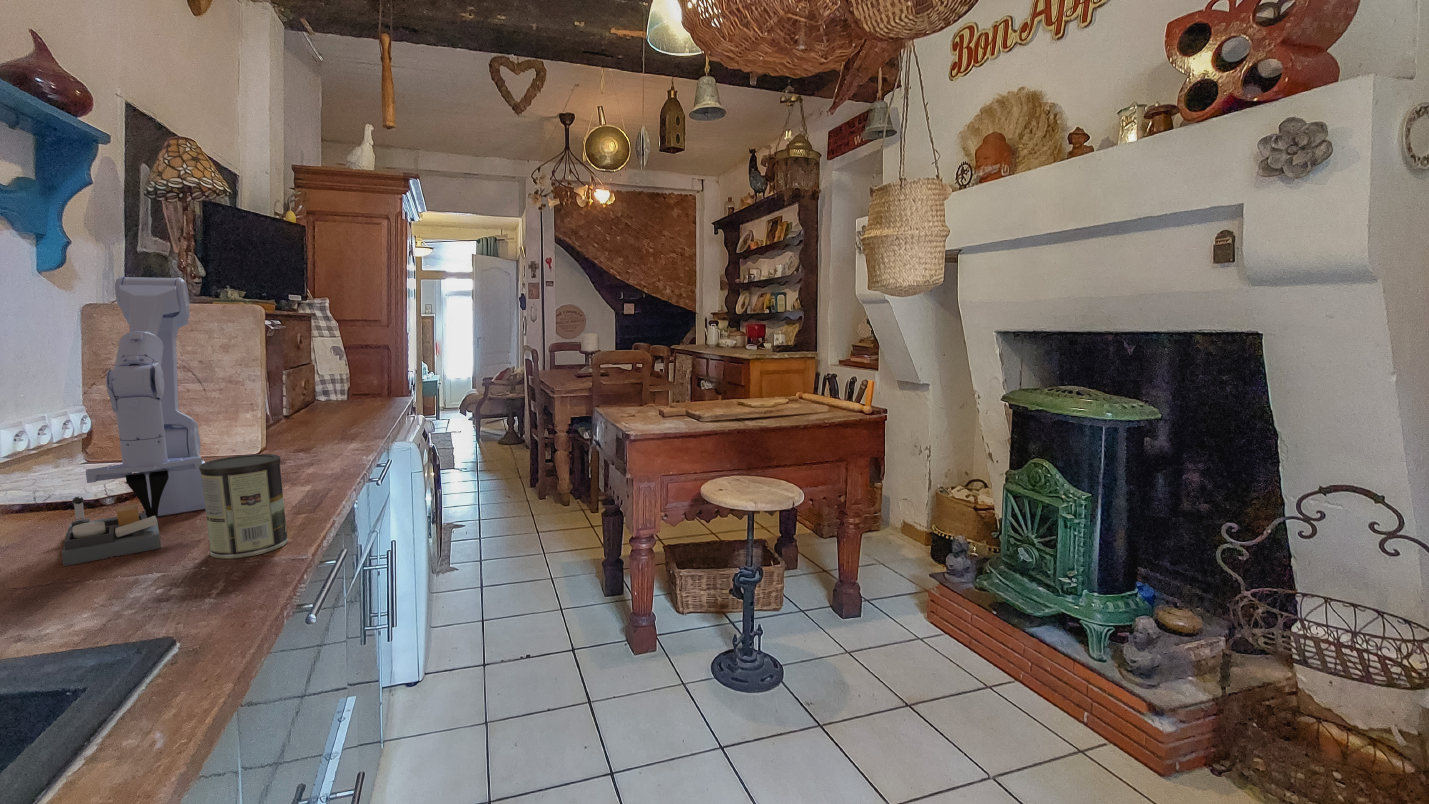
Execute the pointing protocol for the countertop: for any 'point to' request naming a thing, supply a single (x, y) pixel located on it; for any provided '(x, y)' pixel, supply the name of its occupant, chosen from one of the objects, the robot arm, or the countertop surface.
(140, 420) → the robot arm
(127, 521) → the slider
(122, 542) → the console
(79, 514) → the lever
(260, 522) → the coffee can
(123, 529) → the beige flat panel
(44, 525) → the countertop surface
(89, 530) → the button
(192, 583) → the countertop surface
